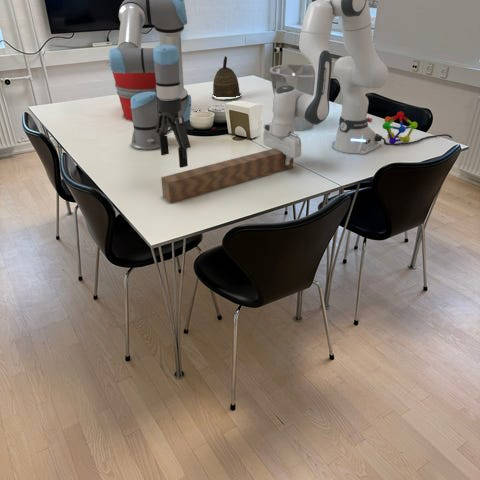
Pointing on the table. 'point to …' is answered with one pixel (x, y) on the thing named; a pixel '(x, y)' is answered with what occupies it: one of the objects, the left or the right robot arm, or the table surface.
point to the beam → (222, 174)
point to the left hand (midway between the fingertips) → (174, 160)
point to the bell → (225, 82)
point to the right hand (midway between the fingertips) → (281, 161)
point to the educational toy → (398, 128)
